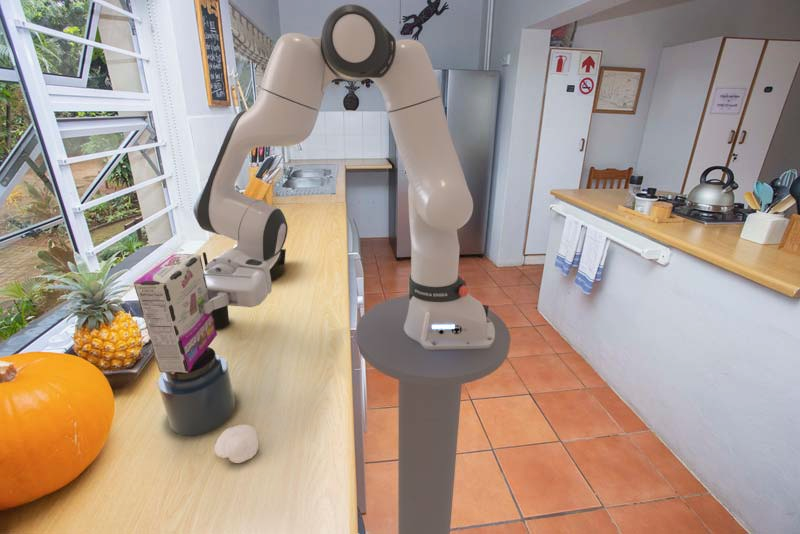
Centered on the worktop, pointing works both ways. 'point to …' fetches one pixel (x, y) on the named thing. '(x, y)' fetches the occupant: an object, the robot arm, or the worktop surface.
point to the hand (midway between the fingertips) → (185, 308)
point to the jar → (198, 396)
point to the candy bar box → (176, 312)
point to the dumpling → (237, 443)
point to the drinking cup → (219, 310)
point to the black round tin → (278, 266)
